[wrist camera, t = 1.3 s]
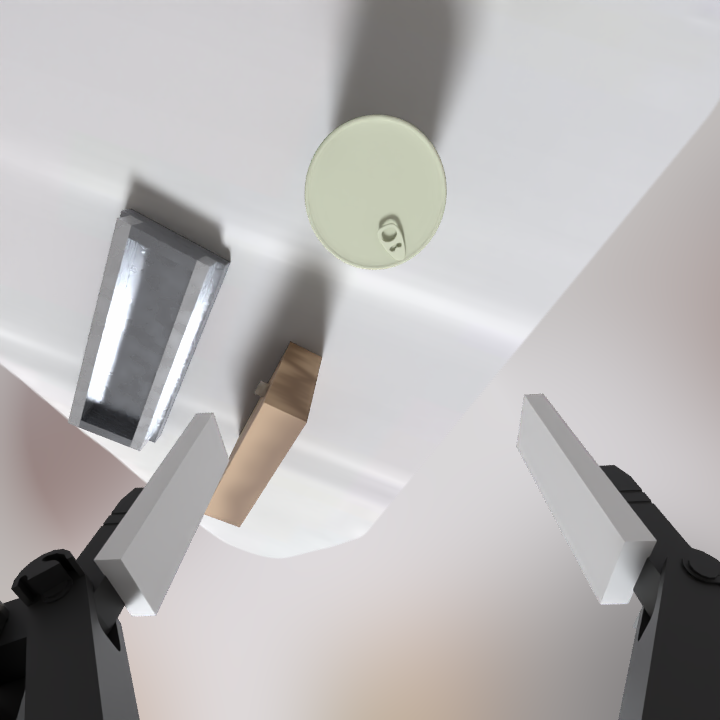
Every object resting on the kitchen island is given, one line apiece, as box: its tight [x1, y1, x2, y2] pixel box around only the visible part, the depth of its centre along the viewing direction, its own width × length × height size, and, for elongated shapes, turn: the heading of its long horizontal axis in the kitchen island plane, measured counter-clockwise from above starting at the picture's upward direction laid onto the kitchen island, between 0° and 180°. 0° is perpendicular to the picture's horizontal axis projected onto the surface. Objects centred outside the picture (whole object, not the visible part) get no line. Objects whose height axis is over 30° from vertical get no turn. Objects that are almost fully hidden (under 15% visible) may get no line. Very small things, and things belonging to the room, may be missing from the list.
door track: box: [68, 209, 230, 451], centre depth 40 cm, size 10×26×4 cm, turn 150°
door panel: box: [204, 341, 322, 527], centre depth 39 cm, size 5×16×12 cm, turn 150°
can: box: [305, 115, 447, 270], centre depth 28 cm, size 9×9×12 cm
